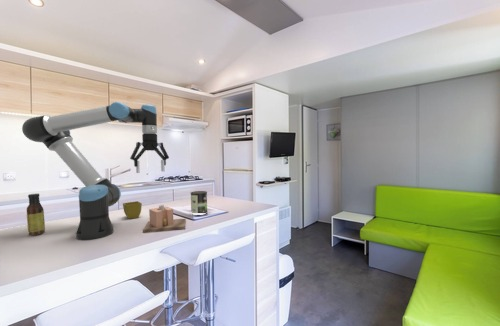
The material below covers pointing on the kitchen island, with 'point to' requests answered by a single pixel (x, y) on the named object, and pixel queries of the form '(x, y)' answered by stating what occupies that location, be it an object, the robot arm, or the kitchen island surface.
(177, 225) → the base
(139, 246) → the kitchen island surface
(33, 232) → the sauce bottle
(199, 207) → the coffee can
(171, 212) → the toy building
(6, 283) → the kitchen island surface
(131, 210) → the flower pot
